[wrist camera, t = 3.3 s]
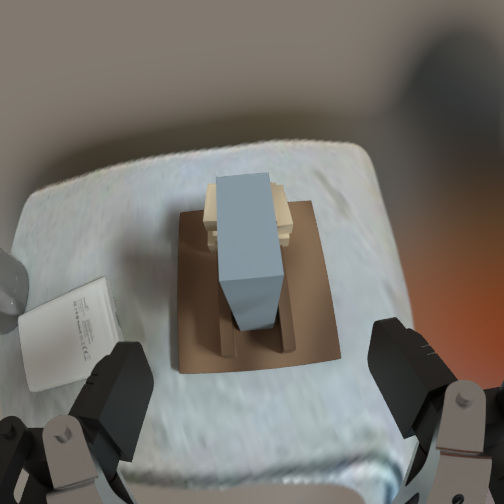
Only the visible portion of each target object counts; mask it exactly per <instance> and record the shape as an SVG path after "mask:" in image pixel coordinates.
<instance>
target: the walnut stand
mask: <svg viewBox="0 0 504 504" xmlns="http://www.w3.org/2000/svg"><path fill="white" fill-rule="evenodd" d="M287 203H288V206H289V210H290V213H291V217H292V221H293V228H292V233H289V237H290V239H289V244H288V246H284V247H282V245H280V251H281V258H282V265H283V272H284V277H283V283H282V288H281V293H280V298H279V302H278V307H277V312H276V317H275V322H274V326H273V328H270V329H259V330H248V331H240V328H239V326H238V324H237V322H236V319H235V317H234V315H233V312H232V310H231V308H230V305H229V303H228V301H227V298H226V296H225V294H224V291H223V289H222V287H221V284H220V282H219V266H218V251H216V253H210V250H209V247H208V231H206V229H205V226H204V223H203V216H204V210H199V211H191V212H182V213H180V223H179V246H178V349H179V371H180V373H181V374H198V373H223V372H240V371H253V370H264V369H273V368H282V367H291V366H298V365H306V364H312V363H319V362H325V361H331V360H337V359H341V353H340V346H339V339H338V333H337V326H336V320H335V314H334V308H333V302H332V297H331V291H330V286H329V280H328V275H327V270H326V265H325V260H324V255H323V251H322V246H321V241H320V237H319V232H318V228H317V223H316V219H315V215H314V211H313V206H312V202H311V201H297V202H287Z"/></svg>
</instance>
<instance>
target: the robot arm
mask: <svg viewBox="0 0 504 504" xmlns="http://www.w3.org/2000/svg"><path fill="white" fill-rule="evenodd" d="M28 288H29V287H28V276H27V272H26V269H25V267H24V266H23V264H22V263H20V262H19V261H17V260H16V259H15V258H13V257H12V256H11V255H9V254H8V253H6V252H5V251H4V250H2V249H1V248H0V334H6V333H9V332H10V331H12V330H13V329H14V328H15V327H16V325H17V324H18V317H19V316H20V315H22V314H23V312H24V309H25V306H26V302H27V297H28ZM368 367H369V370H370V372H371V374H372V376H373V378H374V380H375V382H376V384H377V386H378V388H379V390H380V392H381V394H382V396H383V398H384V400H385V402H386V404H387V406H388V408H389V410H390V412H391V414H392V416H393V418H394V420H395V422H396V424H397V426H398V428H399V430H400V432H401V434H402V436H403V438H404V439H406V438H408V437H411V436H414V435H416V437H417V439H418V441H417V443H416V445H415V448H414V452H413V455H412V458H411V461H410V464H409V467H408V470H407V472H406V475H405V478H404V480H403V483H402V486H401V488H400V490H399V492H398V494H397V496H396V497H395V499H394V500H393V502H392V503H391V504H485V501H486V497H487V492H488V488H489V490H490V492H491V494H492V497H493V499H494V502H495V504H504V381H503V383H502V385H501V387H496V388H491V389H485V390H482V389H481V387H480V386H479V385H477V384H476V383H474V382H471V381H468V380H459V381H458V380H457V378H456V377H455V376H454V374H453V373H452V372H451V371H450V369H449V368H448V367H447V366H446V364H445V363H444V362H443V361H442V359H441V358H440V357H439V356H438V354H435V351H434V350H433V348H432V347H431V346H429V344H428V343H427V341H426V340H425V339H424V338H423V336H422V335H420V334H419V333H417V332H415V331H414V330H412V329H410V328H408V329H406V328H405V327H404V326H403V324H402V323H401V322H400V321H399V320H398V319H397V318H396V317H393V318H388V319H383V320H378V321H375V322H374V324H373V329H372V335H371V340H370V346H369V351H368ZM153 387H154V380H153V375H152V372H151V369H150V367H149V364H148V362H147V359H146V356H145V354H144V351H143V348H142V346H141V344H140V343H139V342H125V341H119V342H117V343H116V345H115V346H114V348H113V350H112V352H111V353H110V355H106V356H104V357H103V358H102V359H101V360H100V361H99V362H97V363H96V365H95V367H94V368H93V370H92V372H91V376H89V377H88V379H87V381H86V384H84V386H83V388H82V389H81V391H80V393H79V395H78V397H77V399H76V400H75V402H74V404H73V406H72V408H71V410H70V412H69V414H68V415H60V416H57V417H55V418H53V419H51V420H50V421H49V422H48V423H47V424H46V426H45V427H44V428H27V427H26V426H25V424H24V423H23V422H22V421H21V419H19V418H18V417H16V416H8V417H6V418H4V419H2V420H1V421H0V504H18V503H17V502H16V501H15V499H14V494H13V493H14V489H15V486H16V483H17V480H18V478H19V475H20V472H21V470H22V468H23V469H24V470H25V471H26V472H28V474H29V477H28V480H27V483H26V486H25V488H24V492H23V494H22V498H21V501H20V502H19V504H137V502H136V500H135V498H134V497H133V495H132V493H131V491H130V489H129V488H128V486H127V484H126V482H125V480H124V478H123V476H122V474H121V472H120V471H119V469H118V468H117V466H118V463H119V460H121V461H127V462H132V459H133V455H134V452H135V448H136V445H137V441H138V438H139V434H140V431H141V428H142V424H143V421H144V418H145V414H146V411H147V408H148V404H149V401H150V398H151V395H152V392H153Z"/></svg>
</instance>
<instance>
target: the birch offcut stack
mask: <svg viewBox="0 0 504 504" xmlns="http://www.w3.org/2000/svg"><path fill="white" fill-rule="evenodd" d="M270 186H271V192H272V198H273V204H274V211H275V217H276V224H277V230H278V237H279V244H280V245H282V247H284V246H288V244H289V239H290V237H289V233H292V228H293V221H292V217H291V213H290V210H289V206H288V203H287V199H286V195H285V192H284V188H283V185H277V186H276V183H270ZM203 223H204V226H205V229H206V231H208V247H209V250H210V253H216V251H218V240H217V203H216V184H208V186H207V194H206V201H205V209H204V216H203Z"/></svg>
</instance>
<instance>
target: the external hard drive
mask: <svg viewBox="0 0 504 504" xmlns="http://www.w3.org/2000/svg"><path fill="white" fill-rule="evenodd" d="M116 313H117V312H116V307H115V303H114V298H113V294H112V289H111V284H110V280H109V279H108V278H107V277H106V276H104V277H102V278H100V279H97V280H95V281H93V282H91V283H89V284H86V285H84V286H82V287H80V288H77V289H75V290H73V291H71V292H69V293H66V294H64V295H62V296H60V297H58V298H56V299H54V300H51V301H49V302H47V303H45V304H43V305H41V306H39V307H37V308H35V309H33V310H31V311H29V312H27V313H25V314H23V315H20V316H19V317H18V326H19V336H20V343H21V351H22V357H23V363H24V369H25V374H26V379H27V384H28V387H29V390H30V391H31V392H40V391H44V390H48V389H51V388H55V387H59V386H62V385H66V384H69V383H73V382H76V381H80V380H83V379H86V378H88V377H89V376H91V372H92V370H93V368H94V367H95V365H96V363H97V362H99V361H100V360H101V359H102V358H103V357H104V356H106V355H110V353H111V352H112V350H113V348H114V346H115V345H116V343H117V342H119V341H124V338H123V335H122V331H121V327H120V326H119V324H118V320H117V316H116Z"/></svg>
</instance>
